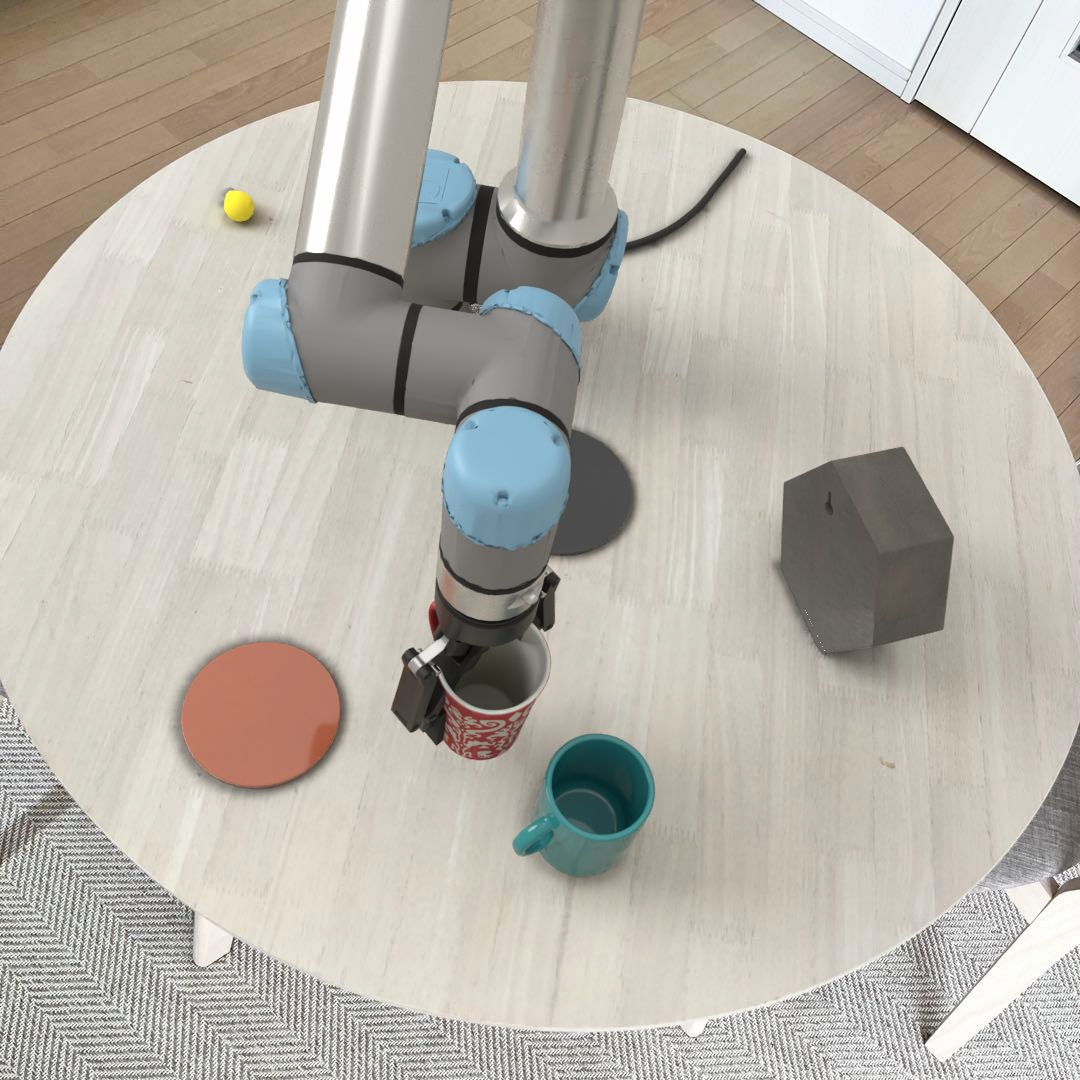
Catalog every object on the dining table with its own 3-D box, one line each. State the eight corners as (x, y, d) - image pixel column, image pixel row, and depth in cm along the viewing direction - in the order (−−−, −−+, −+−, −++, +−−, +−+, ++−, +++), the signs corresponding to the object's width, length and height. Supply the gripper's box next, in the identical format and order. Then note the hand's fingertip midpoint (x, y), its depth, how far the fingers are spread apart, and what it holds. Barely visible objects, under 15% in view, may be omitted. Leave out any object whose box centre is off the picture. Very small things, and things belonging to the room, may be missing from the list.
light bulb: (238, 232, 133) (223, 207, 130) (223, 210, 137) (208, 186, 134) (263, 217, 133) (248, 192, 131) (247, 196, 137) (233, 172, 134)
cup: (481, 823, 100) (492, 780, 90) (595, 761, 104) (616, 714, 95) (533, 915, 96) (550, 880, 87) (649, 847, 100) (677, 807, 91)
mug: (551, 741, 99) (573, 679, 88) (461, 790, 96) (472, 734, 84) (478, 626, 104) (490, 554, 92) (390, 670, 101) (392, 601, 89)
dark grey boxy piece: (938, 678, 107) (961, 479, 98) (867, 697, 106) (884, 495, 96) (842, 598, 122) (854, 417, 113) (778, 613, 120) (785, 430, 111)
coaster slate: (561, 405, 125) (562, 403, 125) (661, 502, 120) (662, 499, 120) (449, 477, 119) (449, 474, 118) (550, 582, 113) (551, 580, 113)
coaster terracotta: (281, 617, 108) (281, 614, 108) (371, 724, 103) (371, 722, 103) (151, 702, 102) (150, 699, 102) (240, 820, 97) (239, 818, 97)
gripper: (404, 703, 74) (400, 808, 93) (632, 536, 82) (585, 664, 102) (335, 621, 76) (345, 741, 95) (564, 467, 85) (530, 605, 104)
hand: (469, 701), depth 99 cm, fingers closed on mug, 8 cm apart
